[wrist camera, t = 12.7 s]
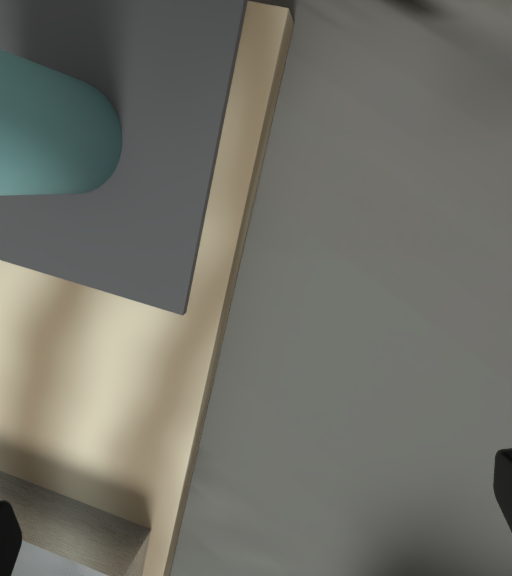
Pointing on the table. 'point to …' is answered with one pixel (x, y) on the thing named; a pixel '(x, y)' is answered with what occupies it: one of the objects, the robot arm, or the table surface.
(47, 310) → the birch board
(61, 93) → the teal dowel
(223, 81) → the dark gray rubber pad
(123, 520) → the square metal frame plate
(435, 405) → the table surface
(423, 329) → the table surface
